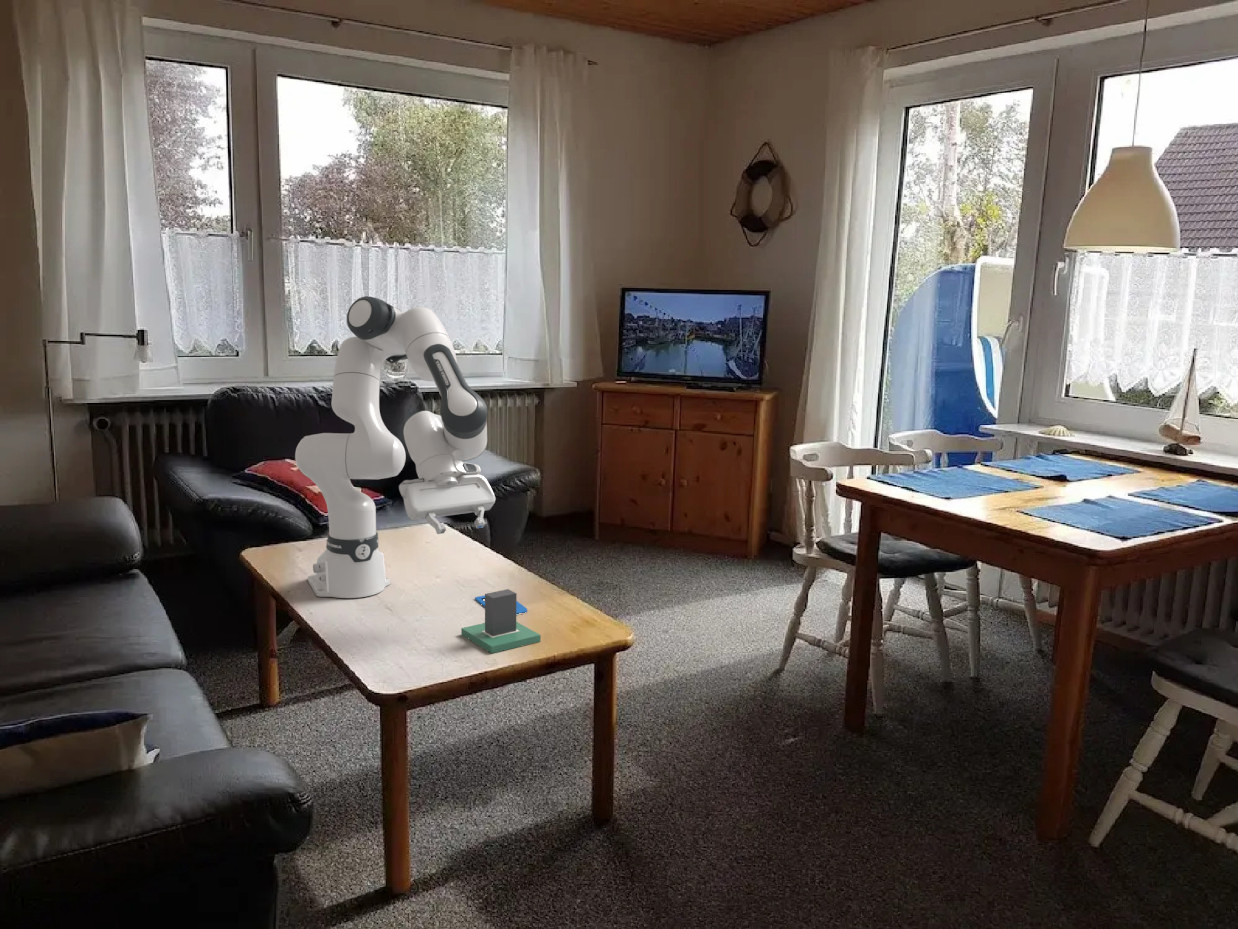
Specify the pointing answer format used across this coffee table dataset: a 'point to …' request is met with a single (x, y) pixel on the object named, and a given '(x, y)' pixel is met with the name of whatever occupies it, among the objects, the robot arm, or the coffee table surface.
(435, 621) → the coffee table surface
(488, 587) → the coffee table surface
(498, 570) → the coffee table surface
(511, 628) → the block
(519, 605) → the handheld gaming device
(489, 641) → the board
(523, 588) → the coffee table surface
